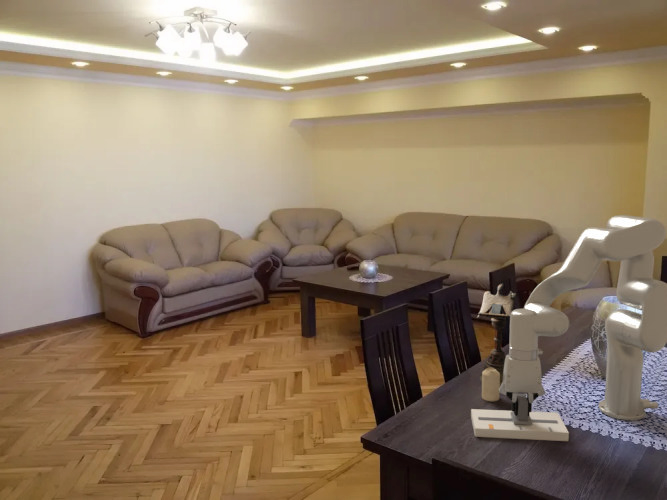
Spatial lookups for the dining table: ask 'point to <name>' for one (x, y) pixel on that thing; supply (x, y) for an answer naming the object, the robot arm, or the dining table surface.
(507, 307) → the bird statue
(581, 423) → the dining table surface
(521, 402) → the fader tab
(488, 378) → the candle
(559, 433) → the fader console
